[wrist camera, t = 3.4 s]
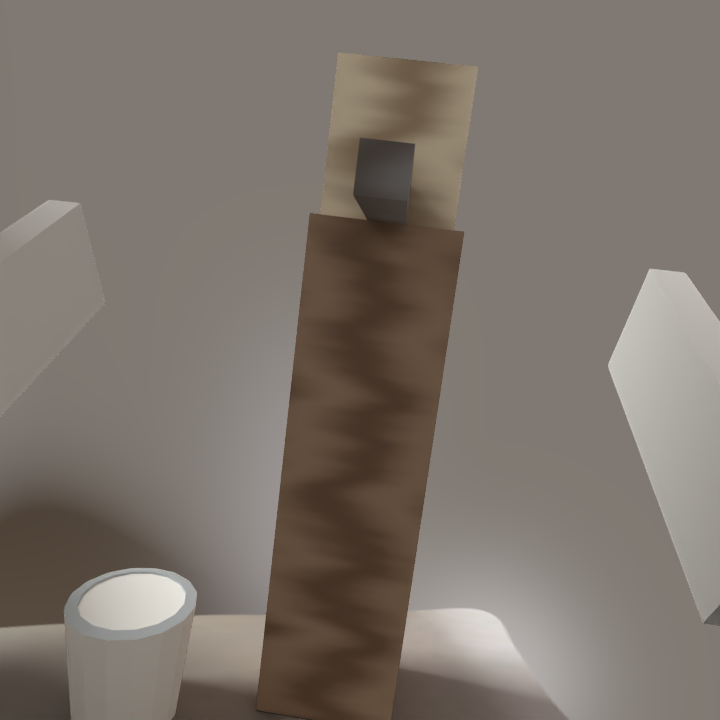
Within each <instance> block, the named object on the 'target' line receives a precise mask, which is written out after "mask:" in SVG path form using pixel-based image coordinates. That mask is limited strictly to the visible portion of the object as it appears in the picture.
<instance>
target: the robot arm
mask: <svg viewBox="0 0 720 720" xmlns="http://www.w3.org/2000/svg"><path fill="white" fill-rule="evenodd" d="M105 303H106V302H105V299H104V295H103V291H102V287H101V283H100V279H99V275H98V271H97V267H96V264H95V260H94V255H93V252H92V248H91V244H90V240H89V236H88V232H87V228H86V224H85V220H84V217H83V212H82V208H81V205H80V203H74V202H64V201H56V200H48V201H46V202H45V203H43V204H42V205H40V206H39V207H37V208H36V209H34V210H33V211H31V212H30V213H28V214H27V215H26V216H24V217H23V218H21V219H20V220H18V221H17V222H15V223H14V224H12V225H11V226H9V227H8V228H6V229H5V230H3V231H2V232H0V417H1V416H2V415H3V414H4V413H5V412H6V411H7V409H8V408H9V407H10V406H11V405H12V404H13V403H14V402H15V401H16V399H18V397H19V396H20V395H21V394H22V393H23V392H24V391H25V390H26V389H27V387H29V386H30V384H31V383H32V382H33V381H34V380H35V379H36V378H37V377H38V376H39V375H40V374H41V372H42V371H43V370H44V369H45V368H46V367H47V366H48V365H49V364H50V363H51V362H52V360H53V359H54V358H55V357H56V356H57V355H58V354H59V353H60V352H61V351H62V350H63V349H64V347H65V346H66V345H67V344H68V343H69V342H70V341H71V340H72V339H73V338H74V337H75V335H76V334H77V333H78V332H79V331H80V330H81V329H82V328H83V327H84V326H85V325H86V324H87V322H88V321H89V320H90V319H91V318H92V317H93V316H94V315H95V314H96V313H97V311H98V310H99V309H100V308H101V307H102V306H103V305H104V304H105ZM608 368H609V370H610V373H611V376H612V379H613V381H614V384H615V387H616V389H617V392H618V395H619V398H620V400H621V403H622V406H623V408H624V411H625V414H626V417H627V419H628V422H629V425H630V427H631V430H632V433H633V435H634V438H635V441H636V444H637V446H638V449H639V452H640V454H641V457H642V460H643V462H644V465H645V468H646V471H647V473H648V476H649V479H650V482H651V484H652V487H653V490H654V492H655V495H656V497H657V500H658V503H659V506H660V509H661V511H662V514H663V516H664V519H665V522H666V525H667V528H668V530H669V533H670V536H671V538H672V541H673V544H674V546H675V549H676V552H677V554H678V557H679V560H680V563H681V565H682V568H683V571H684V573H685V576H686V579H687V582H688V584H689V587H690V590H691V592H692V595H693V598H694V601H695V603H696V606H697V609H698V611H699V614H700V617H701V619H702V622H703V623H704V624H711V625H717V626H720V322H719V321H718V319H717V317H716V316H715V315H714V313H713V312H712V310H711V309H710V308H709V306H708V305H707V303H706V302H705V301H704V299H703V297H702V296H701V295H700V293H699V292H698V290H697V289H696V287H695V286H694V285H693V283H692V282H691V280H690V279H689V278H688V276H687V274H686V273H682V272H674V271H665V270H657V269H650V270H649V272H648V274H647V276H646V279H645V281H644V283H643V286H642V288H641V290H640V293H639V295H638V297H637V300H636V302H635V304H634V306H633V309H632V311H631V313H630V316H629V318H628V320H627V323H626V325H625V327H624V329H623V332H622V334H621V336H620V339H619V341H618V343H617V346H616V348H615V350H614V352H613V355H612V357H611V359H610V362H609V364H608Z"/></svg>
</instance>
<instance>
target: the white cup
mask: <svg viewBox="0 0 720 720" xmlns="http://www.w3.org/2000/svg"><path fill="white" fill-rule="evenodd" d="M196 597H197V592H196V591H195V589H194V587H193V586H192V584H191V583H190V581H188V580H187V579H185V578H183V577H181V576H180V575H178V574H176V573H174V572H169V571H165V570H161V569H156V568H130V569H125V570H120V571H115V572H109V573H106V574H104V575H101V576H99V577H97V578H95V579H92V580H90V581H87V582H86V583H85V584H83V585H82V586H81V587H79V588H78V589H77V590H76V591H74V592H73V593H72V594H71V595H70V597H69V599H68V601H67V603H66V605H65V607H64V618H65V634H66V650H67V666H68V682H69V698H70V714H71V720H172V718H173V717H174V715H175V712H176V707H177V702H178V697H179V691H180V686H181V681H182V675H183V670H184V665H185V659H186V654H187V649H188V643H189V638H190V633H191V627H192V622H193V617H194V611H195V606H196Z"/></svg>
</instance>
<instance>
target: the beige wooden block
mask: <svg viewBox="0 0 720 720" xmlns="http://www.w3.org/2000/svg"><path fill="white" fill-rule="evenodd" d="M477 70H478V67H474V66H464V65H455V64H445V63H436V62H427V61H417V60H407V59H398V58H388V57H379V56H369V55H360V54H350V53H340V52H339V53H338V60H337V69H336V78H335V87H334V96H333V105H332V114H331V123H330V132H329V141H328V151H327V159H326V168H325V177H324V186H323V195H322V204H321V213H320V214H322V215H330V216H338V217H346V218H355V219H363V220H371V221H379V222H388V223H396V224H404V225H413V226H421V227H429V228H437V229H446V230H454V227H455V220H456V214H457V207H458V200H459V192H460V186H461V180H462V172H463V166H464V159H465V152H466V145H467V139H468V132H469V125H470V118H471V112H472V104H473V98H474V91H475V84H476V78H477Z"/></svg>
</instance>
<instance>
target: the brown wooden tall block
mask: <svg viewBox="0 0 720 720" xmlns="http://www.w3.org/2000/svg"><path fill="white" fill-rule="evenodd" d="M463 237H464V232H462V231H454V230H446V229H437V228H429V227H421V226H413V225H404V224H396V223H388V222H379V221H371V220H363V219H355V218H346V217H338V216H330V215H322V214H313V213H310V217H309V226H308V235H307V244H306V253H305V263H304V272H303V281H302V291H301V300H300V310H299V318H298V327H297V336H296V345H295V355H294V364H293V374H292V382H291V392H290V401H289V410H288V419H287V429H286V438H285V448H284V456H283V466H282V474H281V484H280V493H279V502H278V511H277V520H276V530H275V539H274V548H273V557H272V566H271V576H270V585H269V594H268V603H267V612H266V622H265V631H264V640H263V649H262V658H261V668H260V677H259V686H258V695H257V704H256V710H259V711H264V712H270V713H276V714H282V715H288V716H293V717H299V718H305V719H311V720H391V718H392V711H393V704H394V698H395V691H396V684H397V678H398V671H399V664H400V658H401V651H402V644H403V638H404V631H405V624H406V618H407V611H408V604H409V598H410V591H411V584H412V577H413V571H414V564H415V557H416V551H417V544H418V537H419V530H420V524H421V517H422V511H423V504H424V497H425V491H426V484H427V477H428V471H429V464H430V457H431V450H432V444H433V437H434V430H435V424H436V417H437V411H438V404H439V397H440V390H441V384H442V377H443V370H444V364H445V357H446V350H447V343H448V337H449V330H450V324H451V317H452V310H453V304H454V297H455V290H456V284H457V277H458V270H459V263H460V257H461V250H462V244H463Z"/></svg>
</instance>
